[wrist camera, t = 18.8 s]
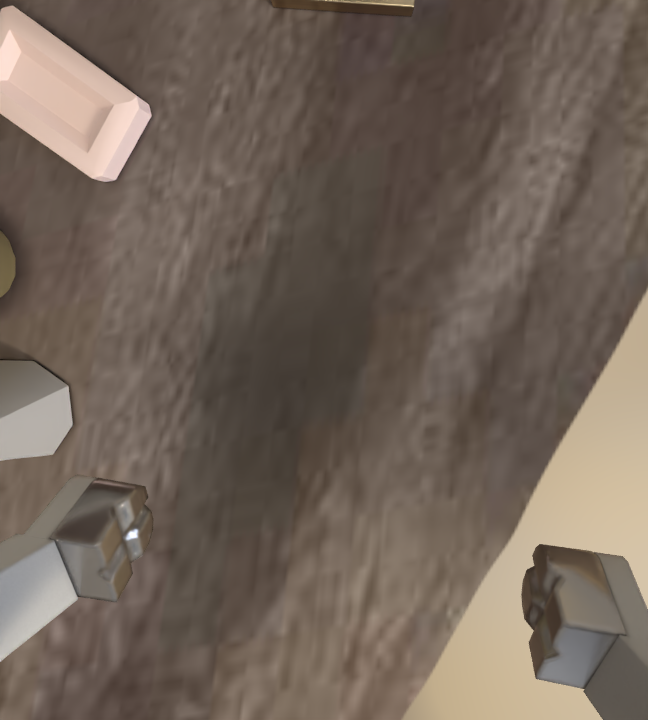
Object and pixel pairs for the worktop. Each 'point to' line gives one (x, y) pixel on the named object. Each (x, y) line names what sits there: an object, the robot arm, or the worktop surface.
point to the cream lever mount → (352, 6)
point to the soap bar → (66, 99)
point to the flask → (31, 410)
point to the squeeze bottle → (6, 264)
